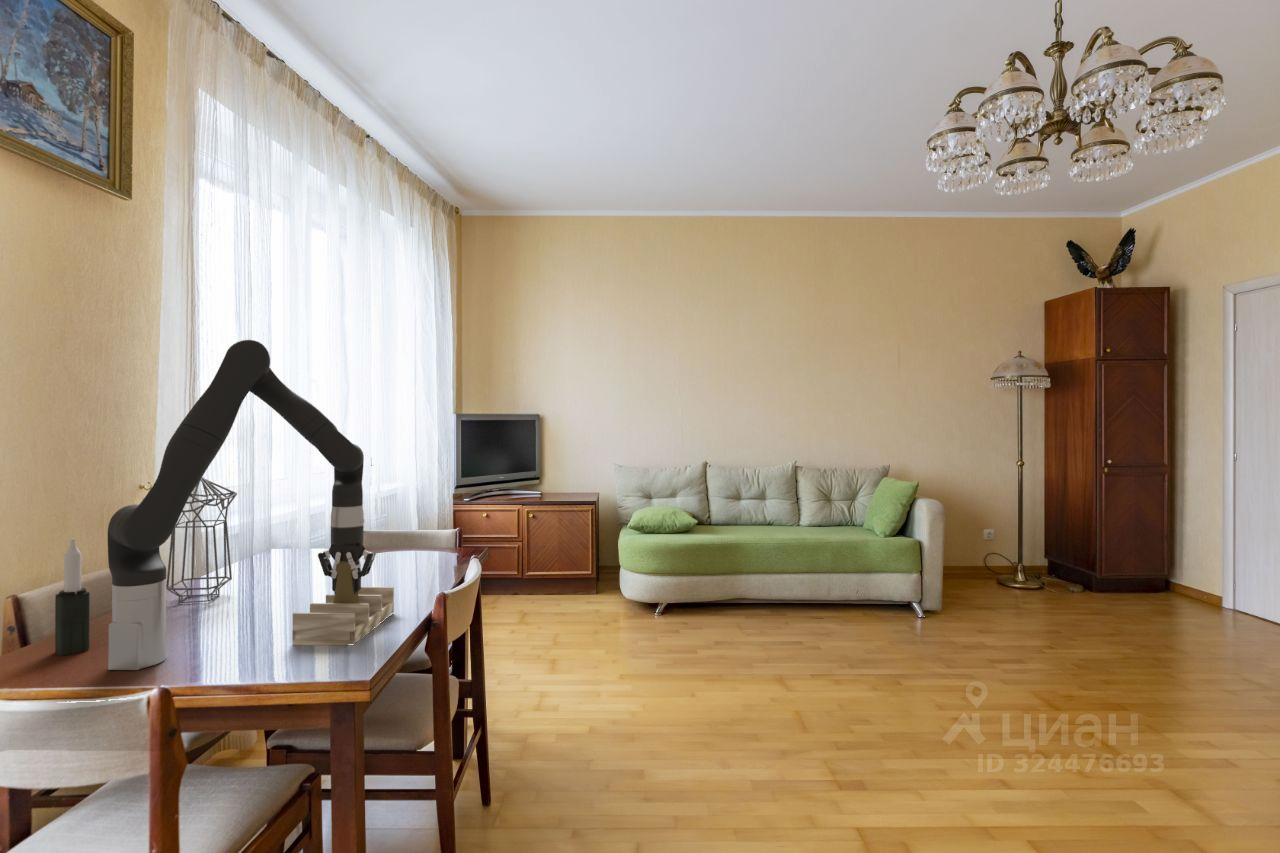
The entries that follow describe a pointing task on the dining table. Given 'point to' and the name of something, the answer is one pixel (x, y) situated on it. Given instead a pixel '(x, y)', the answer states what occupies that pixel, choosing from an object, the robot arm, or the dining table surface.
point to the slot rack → (343, 618)
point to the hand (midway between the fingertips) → (346, 592)
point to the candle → (72, 607)
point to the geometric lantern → (172, 543)
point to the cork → (345, 584)
